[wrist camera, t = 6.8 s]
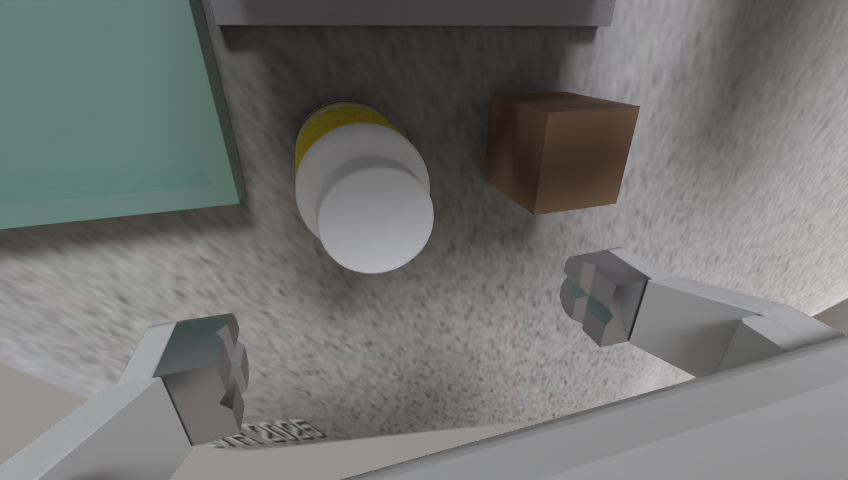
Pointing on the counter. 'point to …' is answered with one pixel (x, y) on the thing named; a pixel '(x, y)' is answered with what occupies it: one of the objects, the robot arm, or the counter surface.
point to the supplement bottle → (362, 187)
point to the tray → (110, 112)
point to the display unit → (413, 12)
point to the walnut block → (558, 149)
